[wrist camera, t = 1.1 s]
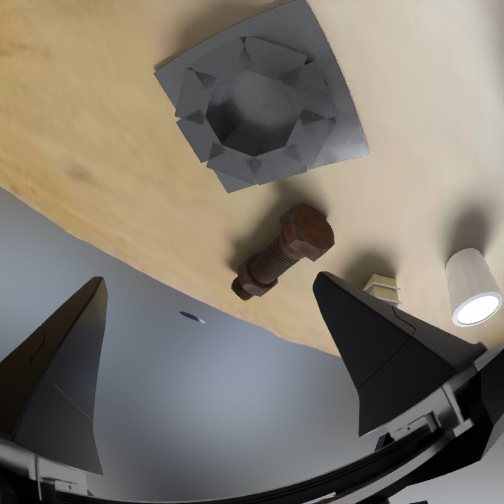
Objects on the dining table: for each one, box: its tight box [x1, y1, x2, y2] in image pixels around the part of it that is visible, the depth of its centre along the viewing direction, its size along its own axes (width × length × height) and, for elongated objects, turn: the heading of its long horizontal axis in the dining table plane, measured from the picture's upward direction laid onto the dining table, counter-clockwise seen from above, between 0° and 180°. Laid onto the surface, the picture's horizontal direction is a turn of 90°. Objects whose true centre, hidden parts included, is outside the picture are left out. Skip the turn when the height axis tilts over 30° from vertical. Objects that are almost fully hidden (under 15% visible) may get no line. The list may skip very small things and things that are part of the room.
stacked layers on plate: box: [363, 274, 402, 309], centre depth 31 cm, size 10×9×6 cm
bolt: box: [231, 204, 335, 301], centre depth 30 cm, size 6×5×15 cm
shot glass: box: [445, 248, 502, 327], centre depth 23 cm, size 7×7×7 cm
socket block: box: [154, 0, 370, 193], centre depth 18 cm, size 14×14×4 cm
